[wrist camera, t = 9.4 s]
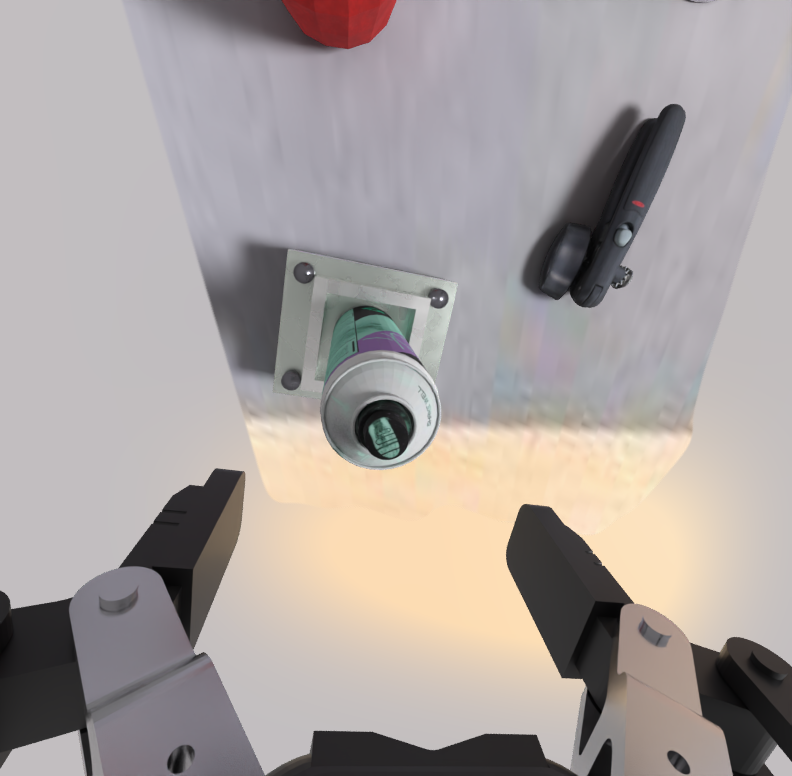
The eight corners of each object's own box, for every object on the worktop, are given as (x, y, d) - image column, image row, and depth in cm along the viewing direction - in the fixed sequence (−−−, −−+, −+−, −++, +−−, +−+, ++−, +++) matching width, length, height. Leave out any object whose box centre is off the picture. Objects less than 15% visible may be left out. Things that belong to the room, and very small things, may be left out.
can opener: (580, 315, 41) (614, 324, 36) (524, 286, 39) (551, 290, 34) (685, 138, 37) (741, 119, 31) (626, 97, 35) (675, 69, 30)
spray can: (372, 379, 35) (401, 524, 16) (320, 344, 34) (286, 460, 15) (409, 329, 34) (486, 423, 15) (357, 291, 33) (371, 343, 14)
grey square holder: (445, 279, 38) (466, 285, 31) (419, 396, 42) (432, 425, 35) (296, 249, 36) (282, 248, 29) (282, 375, 39) (266, 402, 32)
